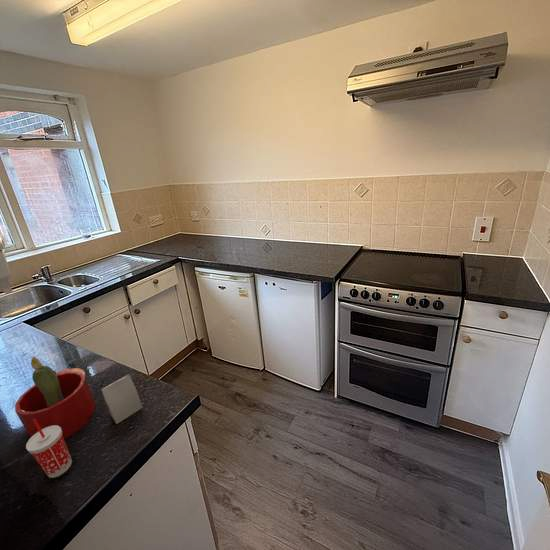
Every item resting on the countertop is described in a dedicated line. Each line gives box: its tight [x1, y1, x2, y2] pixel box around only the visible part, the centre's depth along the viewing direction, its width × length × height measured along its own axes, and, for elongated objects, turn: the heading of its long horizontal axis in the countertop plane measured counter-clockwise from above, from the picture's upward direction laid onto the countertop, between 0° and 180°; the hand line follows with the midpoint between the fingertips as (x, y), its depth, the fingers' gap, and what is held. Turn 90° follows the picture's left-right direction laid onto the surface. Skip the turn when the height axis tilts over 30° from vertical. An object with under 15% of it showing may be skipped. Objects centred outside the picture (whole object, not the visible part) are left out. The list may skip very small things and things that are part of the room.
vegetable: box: [30, 356, 64, 408], centre depth 75 cm, size 4×4×20 cm
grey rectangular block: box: [100, 374, 144, 425], centre depth 77 cm, size 4×7×10 cm, turn 135°
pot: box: [14, 371, 97, 440], centre depth 77 cm, size 15×15×10 cm
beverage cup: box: [25, 419, 73, 479], centre depth 63 cm, size 6×6×14 cm
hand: (7, 288), depth 86 cm, fingers open, 8 cm apart
